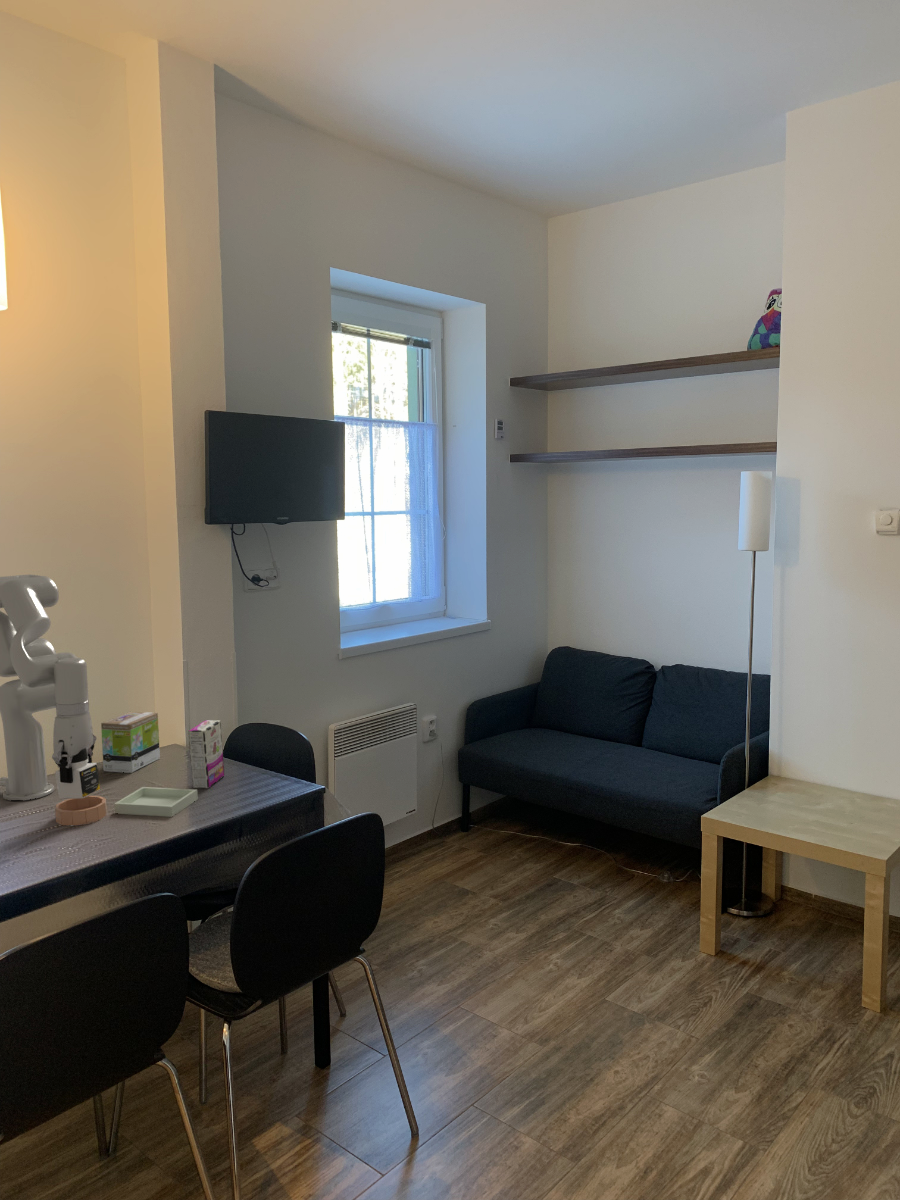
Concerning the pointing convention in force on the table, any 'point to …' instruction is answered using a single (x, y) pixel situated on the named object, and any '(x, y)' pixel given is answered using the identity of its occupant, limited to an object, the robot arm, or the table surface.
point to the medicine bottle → (79, 778)
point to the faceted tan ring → (81, 810)
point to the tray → (156, 801)
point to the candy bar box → (206, 753)
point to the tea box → (130, 741)
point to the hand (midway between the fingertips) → (76, 776)
